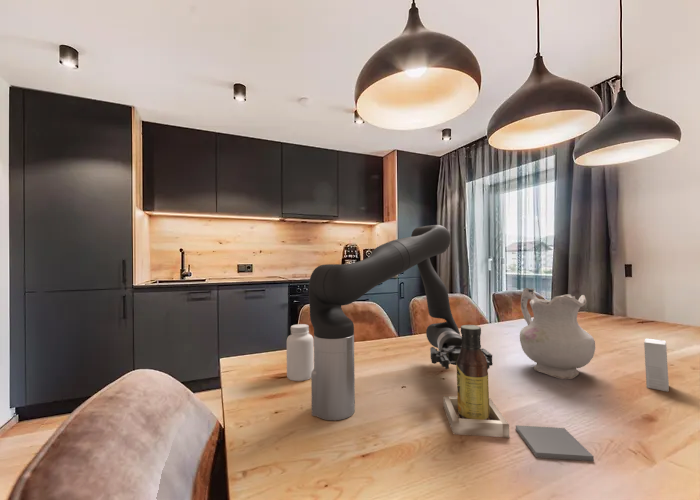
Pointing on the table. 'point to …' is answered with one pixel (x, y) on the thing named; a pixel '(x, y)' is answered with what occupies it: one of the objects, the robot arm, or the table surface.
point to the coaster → (553, 443)
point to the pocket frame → (476, 421)
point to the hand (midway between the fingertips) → (466, 365)
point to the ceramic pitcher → (555, 335)
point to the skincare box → (656, 364)
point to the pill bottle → (300, 353)
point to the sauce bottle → (472, 376)
